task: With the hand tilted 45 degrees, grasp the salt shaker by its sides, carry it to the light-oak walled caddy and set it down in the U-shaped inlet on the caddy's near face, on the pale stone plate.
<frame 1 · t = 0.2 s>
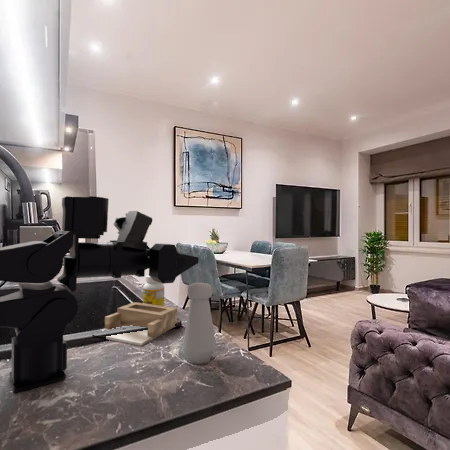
hand: (185, 257, 62), 17 cm above the counter, tool horizontal, fingers open, 9 cm apart
dock: (125, 335, 64), on the counter
supplement bottle: (153, 313, 81), on the counter
salt shaker: (199, 359, 54), on the counter
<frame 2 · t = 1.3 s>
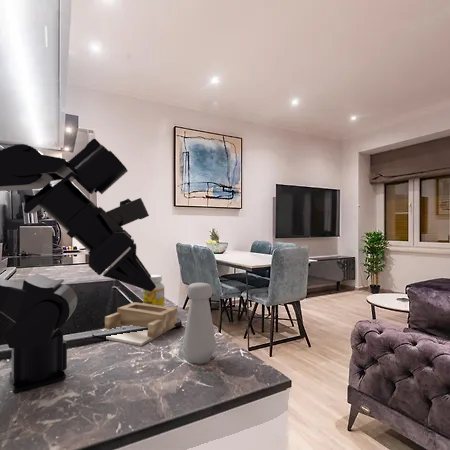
hand: (151, 283, 51), 13 cm above the counter, tool tilted 45°, fingers open, 9 cm apart
nothing on the counter moved.
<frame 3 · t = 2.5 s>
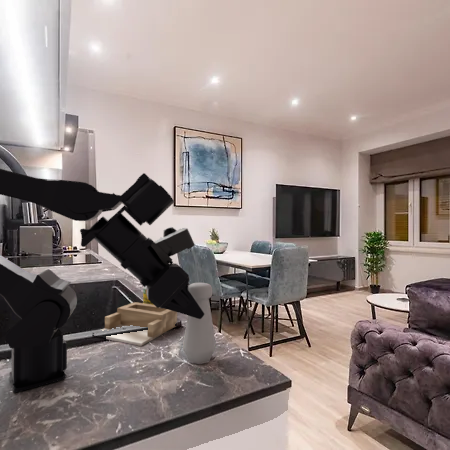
hand: (196, 308, 54), 9 cm above the counter, tool tilted 45°, fingers open, 9 cm apart
nothing on the counter moved.
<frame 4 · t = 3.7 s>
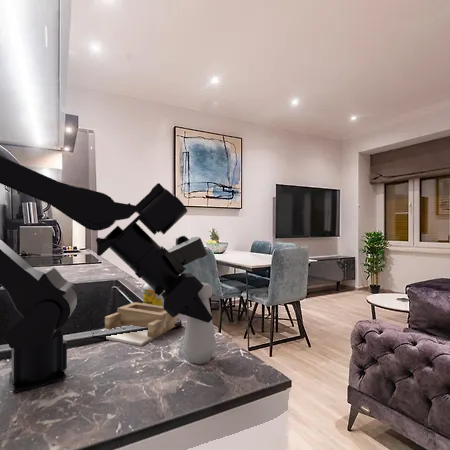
hand: (207, 316, 54), 7 cm above the counter, tool tilted 45°, fingers closed on salt shaker, 3 cm apart
salt shaker: (199, 359, 54), on the counter, touching gripper
everything else where it was.
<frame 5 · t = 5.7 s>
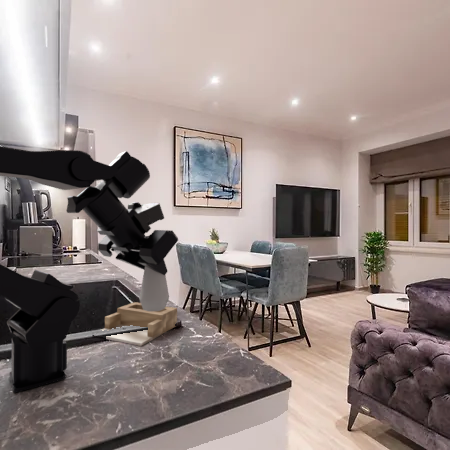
hand: (159, 272, 63), 13 cm above the counter, tool tilted 45°, fingers closed on salt shaker, 3 cm apart
salt shaker: (154, 309, 62), point 6 cm above the counter, touching gripper
everything else where it was.
when the fingers open (8 cm above the counter, at t = 7.5 s): salt shaker stays where it is, resting on dock.
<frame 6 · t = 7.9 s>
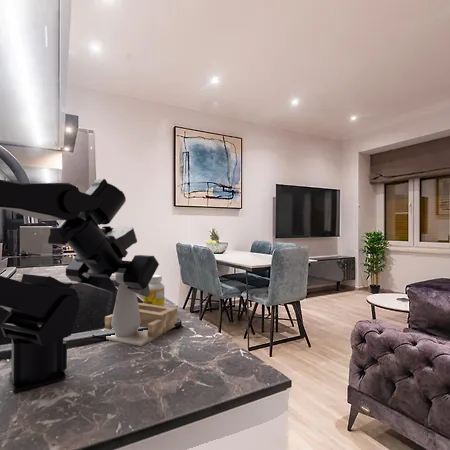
hand: (131, 293, 65), 9 cm above the counter, tool tilted 45°, fingers open, 8 cm apart
salt shaker: (126, 334, 64), resting on dock
everything else where it was.
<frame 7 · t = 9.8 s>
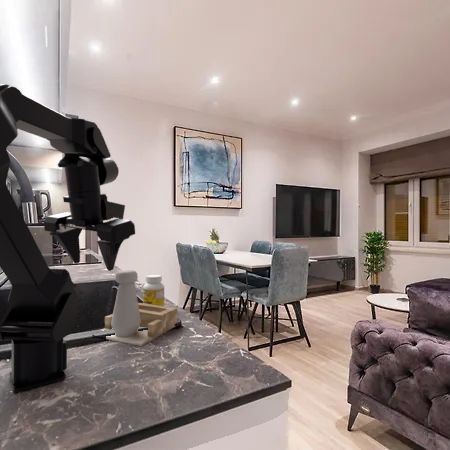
hand: (93, 266, 63), 14 cm above the counter, tool pointing down, fingers open, 9 cm apart
nothing on the counter moved.
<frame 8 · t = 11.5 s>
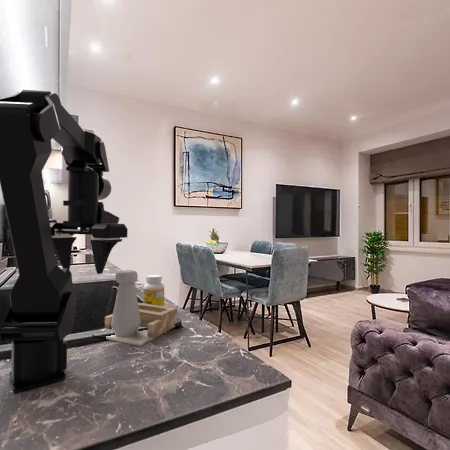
hand: (82, 272, 64), 13 cm above the counter, tool pointing down, fingers open, 9 cm apart
nothing on the counter moved.
at the end: salt shaker inside the target area on the dock (0.2 cm from its centre), point 0.3 cm above the dock's base; salt shaker tilted 0°; the gripper is holding nothing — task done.
